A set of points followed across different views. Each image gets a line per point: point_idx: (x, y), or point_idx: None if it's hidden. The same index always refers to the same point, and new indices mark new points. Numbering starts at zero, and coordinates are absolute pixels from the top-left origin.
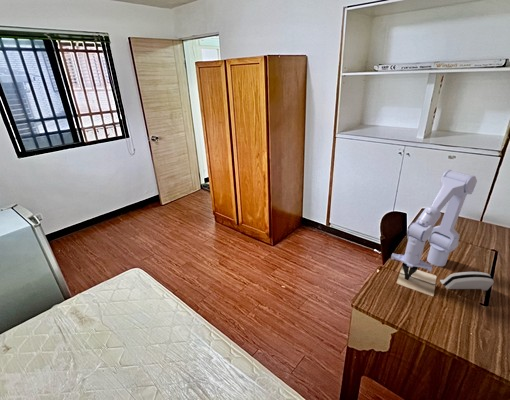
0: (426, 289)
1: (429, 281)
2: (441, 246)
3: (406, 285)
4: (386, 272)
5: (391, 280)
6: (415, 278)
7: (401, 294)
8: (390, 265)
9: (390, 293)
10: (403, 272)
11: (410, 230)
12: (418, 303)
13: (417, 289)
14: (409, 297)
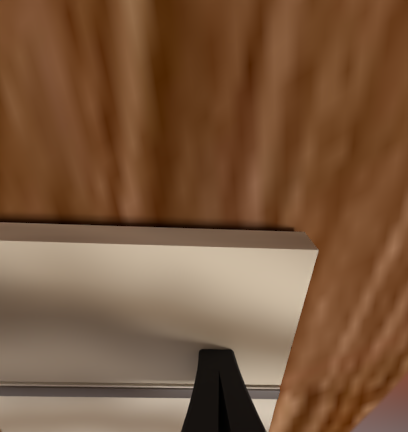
0: (10, 305)
1: (36, 405)
2: None
3: (205, 266)
4: (373, 354)
5: (338, 283)
6: (144, 391)
7: (237, 113)
8: (333, 426)
9: (371, 50)
10: None
11: None
12: (24, 44)
13: (83, 260)
14: (145, 108)
